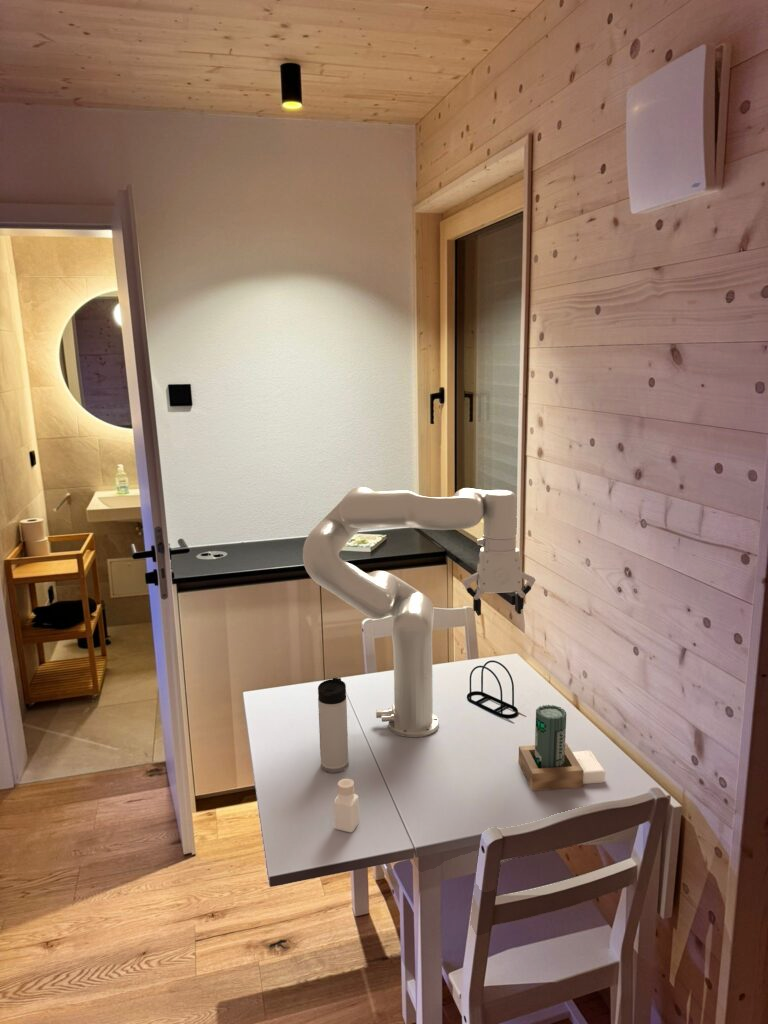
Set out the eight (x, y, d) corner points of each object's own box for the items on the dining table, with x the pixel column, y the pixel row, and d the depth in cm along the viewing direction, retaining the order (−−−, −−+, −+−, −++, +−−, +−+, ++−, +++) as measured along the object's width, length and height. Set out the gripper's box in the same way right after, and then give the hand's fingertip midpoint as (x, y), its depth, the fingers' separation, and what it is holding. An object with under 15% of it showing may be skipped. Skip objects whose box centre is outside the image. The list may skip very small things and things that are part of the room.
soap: (605, 783, 157) (606, 771, 156) (581, 785, 156) (581, 773, 156) (590, 761, 166) (591, 749, 165) (567, 762, 165) (567, 750, 164)
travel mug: (353, 760, 167) (350, 679, 163) (342, 775, 161) (339, 692, 157) (328, 755, 169) (325, 675, 165) (316, 770, 163) (312, 688, 159)
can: (541, 763, 164) (543, 702, 161) (567, 772, 161) (570, 709, 158) (530, 776, 159) (532, 713, 156) (556, 785, 156) (559, 721, 153)
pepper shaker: (333, 830, 143) (332, 786, 141) (342, 818, 146) (340, 775, 144) (352, 834, 141) (351, 790, 139) (360, 822, 145) (359, 779, 143)
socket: (532, 790, 154) (532, 773, 153) (518, 762, 165) (518, 746, 164) (582, 787, 155) (583, 770, 154) (565, 759, 166) (566, 743, 165)
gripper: (465, 548, 165) (465, 620, 169) (540, 546, 167) (538, 617, 170) (459, 540, 173) (459, 609, 176) (531, 538, 174) (529, 606, 178)
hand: (498, 612), depth 173 cm, fingers open, 9 cm apart
